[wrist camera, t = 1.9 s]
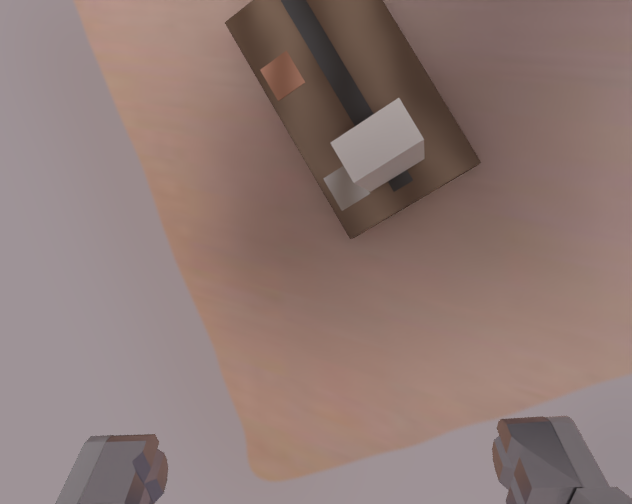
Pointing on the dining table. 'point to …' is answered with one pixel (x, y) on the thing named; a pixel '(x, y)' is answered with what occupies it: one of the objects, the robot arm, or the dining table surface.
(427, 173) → the switch board
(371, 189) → the switch tab
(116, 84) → the dining table surface
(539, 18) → the dining table surface
